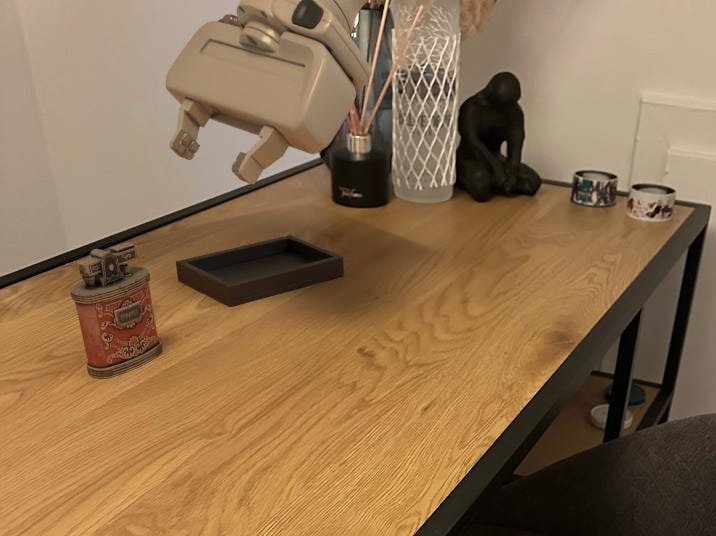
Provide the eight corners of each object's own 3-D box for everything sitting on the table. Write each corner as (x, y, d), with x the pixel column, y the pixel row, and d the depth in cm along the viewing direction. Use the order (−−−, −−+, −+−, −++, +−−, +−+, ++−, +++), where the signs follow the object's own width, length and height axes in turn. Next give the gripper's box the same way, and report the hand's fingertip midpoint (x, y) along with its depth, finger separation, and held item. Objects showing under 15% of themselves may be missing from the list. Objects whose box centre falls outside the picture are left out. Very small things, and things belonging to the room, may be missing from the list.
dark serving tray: (177, 280, 103) (175, 261, 101) (291, 252, 112) (290, 234, 110) (230, 307, 98) (228, 286, 96) (344, 275, 107) (343, 257, 106)
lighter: (107, 381, 83) (83, 267, 77) (79, 372, 84) (53, 258, 78) (170, 351, 89) (153, 242, 82) (143, 343, 90) (124, 234, 83)
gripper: (196, -16, 85) (118, 116, 86) (345, 18, 75) (255, 168, 76) (242, 39, 91) (168, 163, 91) (385, 77, 81) (302, 216, 81)
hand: (209, 165), depth 83 cm, fingers open, 8 cm apart
